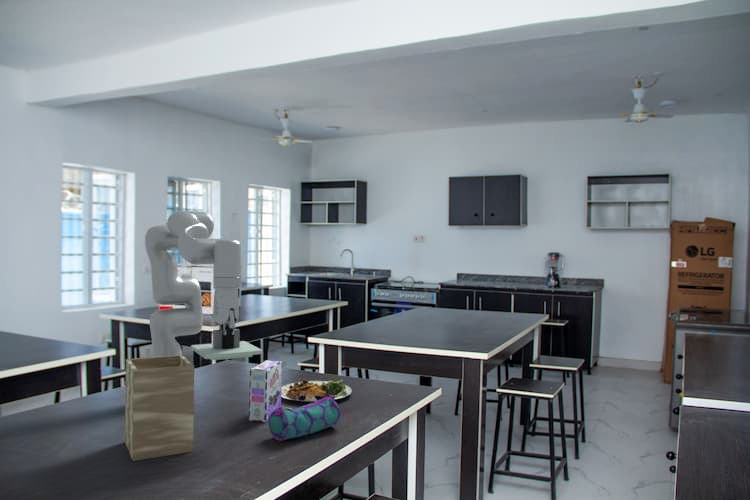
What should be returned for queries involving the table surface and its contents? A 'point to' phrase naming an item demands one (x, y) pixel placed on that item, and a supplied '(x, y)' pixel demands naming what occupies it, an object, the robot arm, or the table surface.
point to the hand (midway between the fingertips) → (226, 347)
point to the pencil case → (304, 419)
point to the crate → (159, 406)
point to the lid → (218, 353)
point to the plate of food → (315, 390)
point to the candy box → (265, 390)
